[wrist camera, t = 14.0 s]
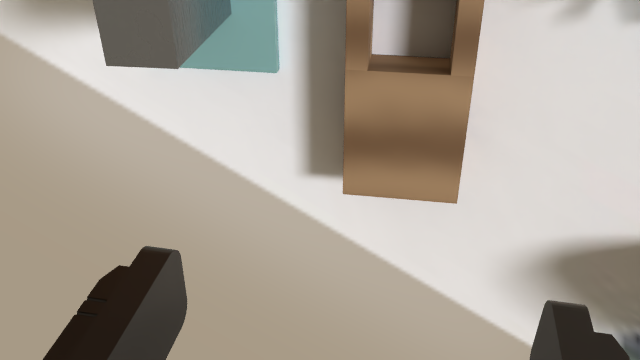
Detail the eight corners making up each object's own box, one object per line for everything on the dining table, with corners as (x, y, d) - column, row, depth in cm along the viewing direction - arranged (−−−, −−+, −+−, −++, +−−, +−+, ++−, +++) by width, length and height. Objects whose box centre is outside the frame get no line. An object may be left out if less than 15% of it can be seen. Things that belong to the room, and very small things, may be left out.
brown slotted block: (356, -202, 34) (350, -202, 31) (506, -202, 33) (511, -203, 30) (348, 172, 46) (342, 193, 44) (455, 181, 45) (456, 203, 43)
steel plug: (165, -51, 39) (90, -11, 31) (225, -50, 38) (166, -9, 30) (173, 12, 41) (106, 65, 33) (231, 13, 40) (177, 68, 32)
